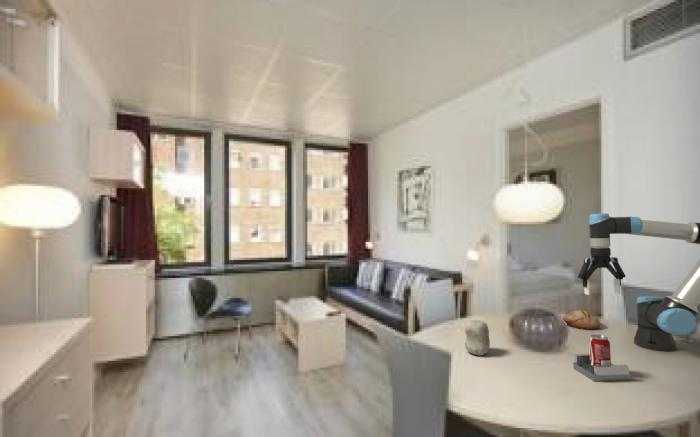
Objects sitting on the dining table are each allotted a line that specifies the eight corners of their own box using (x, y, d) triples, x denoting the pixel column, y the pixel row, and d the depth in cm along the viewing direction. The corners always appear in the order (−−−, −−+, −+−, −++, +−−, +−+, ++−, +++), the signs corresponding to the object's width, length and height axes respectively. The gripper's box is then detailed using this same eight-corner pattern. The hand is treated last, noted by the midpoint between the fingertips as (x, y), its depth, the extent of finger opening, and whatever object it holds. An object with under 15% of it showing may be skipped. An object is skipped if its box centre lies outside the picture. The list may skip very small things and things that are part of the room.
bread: (591, 334, 188) (590, 316, 188) (555, 325, 206) (554, 308, 206) (608, 327, 196) (607, 309, 196) (572, 319, 213) (571, 302, 213)
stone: (480, 359, 159) (478, 325, 159) (460, 352, 167) (458, 320, 168) (494, 352, 165) (493, 320, 165) (474, 346, 174) (473, 316, 174)
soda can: (614, 371, 136) (613, 339, 136) (595, 370, 137) (593, 339, 137) (605, 364, 142) (604, 334, 142) (587, 363, 144) (585, 333, 144)
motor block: (606, 366, 146) (605, 353, 146) (631, 380, 133) (630, 366, 133) (572, 367, 146) (572, 354, 146) (594, 382, 133) (594, 367, 133)
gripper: (621, 245, 165) (623, 291, 165) (567, 247, 165) (569, 293, 165) (634, 246, 157) (636, 294, 157) (578, 248, 157) (580, 296, 157)
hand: (602, 293), depth 161 cm, fingers open, 13 cm apart
